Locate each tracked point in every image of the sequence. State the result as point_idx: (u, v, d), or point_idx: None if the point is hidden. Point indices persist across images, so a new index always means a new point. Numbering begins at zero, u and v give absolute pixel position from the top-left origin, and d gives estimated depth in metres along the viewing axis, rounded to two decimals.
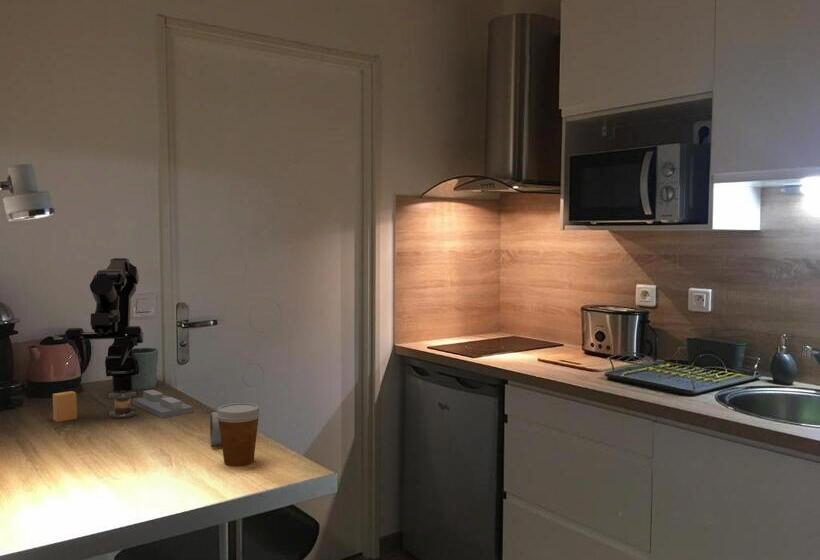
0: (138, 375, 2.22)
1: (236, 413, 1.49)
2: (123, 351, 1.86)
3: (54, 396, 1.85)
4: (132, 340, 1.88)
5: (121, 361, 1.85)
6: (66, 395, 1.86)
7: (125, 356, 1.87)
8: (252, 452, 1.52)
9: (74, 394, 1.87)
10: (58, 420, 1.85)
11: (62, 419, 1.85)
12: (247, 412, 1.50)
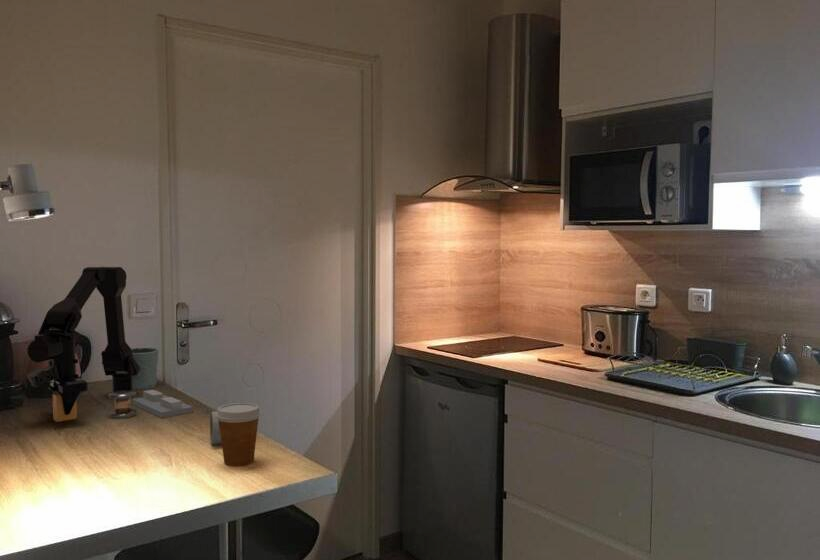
0: (138, 375, 2.22)
1: (236, 413, 1.49)
2: (63, 402, 1.85)
3: (54, 396, 1.85)
4: None
5: (64, 412, 1.85)
6: None
7: (68, 406, 1.85)
8: (252, 452, 1.52)
9: None
10: (58, 420, 1.85)
11: (62, 419, 1.85)
12: (247, 412, 1.50)
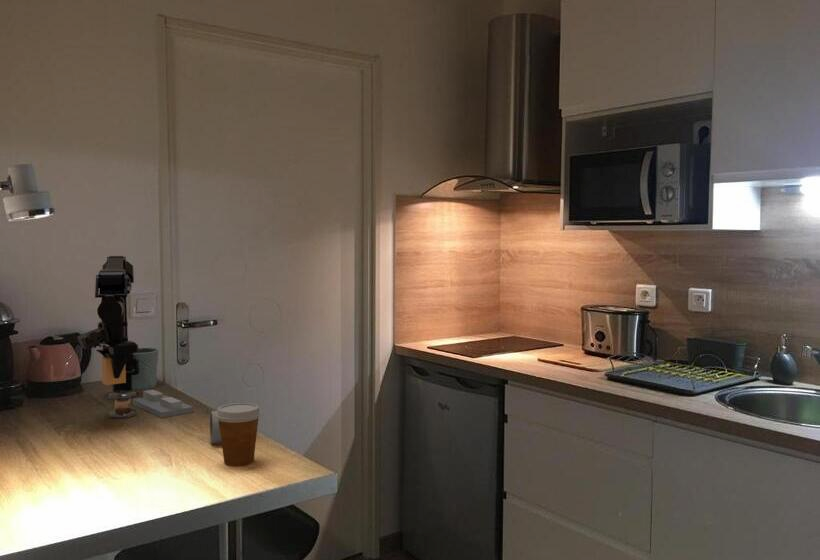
0: (138, 375, 2.22)
1: (236, 413, 1.49)
2: (112, 365, 1.82)
3: (103, 359, 1.83)
4: (114, 355, 1.80)
5: (114, 375, 1.83)
6: None
7: (118, 369, 1.83)
8: (252, 452, 1.52)
9: None
10: (107, 383, 1.82)
11: (111, 382, 1.83)
12: (247, 412, 1.50)
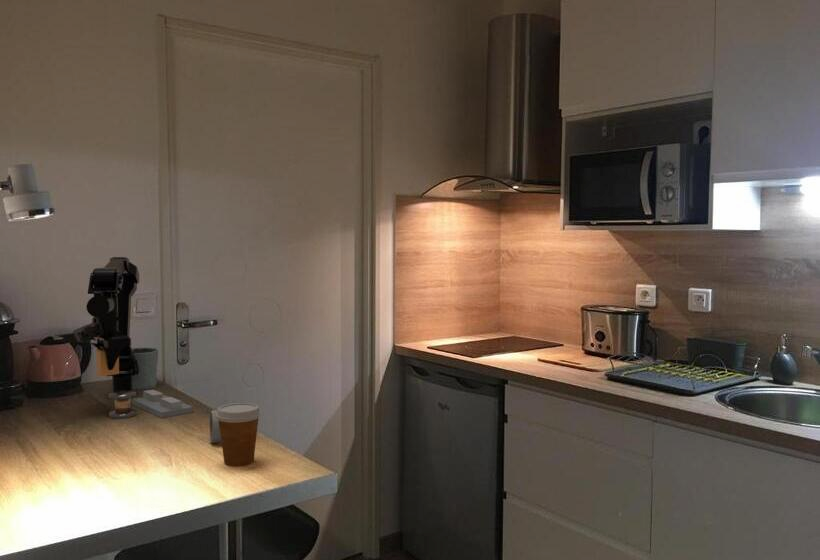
0: (138, 375, 2.22)
1: (236, 413, 1.49)
2: (107, 358, 1.94)
3: (98, 352, 1.94)
4: (108, 348, 1.92)
5: (108, 367, 1.95)
6: None
7: (111, 361, 1.94)
8: (252, 452, 1.52)
9: None
10: (102, 374, 1.94)
11: (105, 374, 1.94)
12: (247, 412, 1.50)
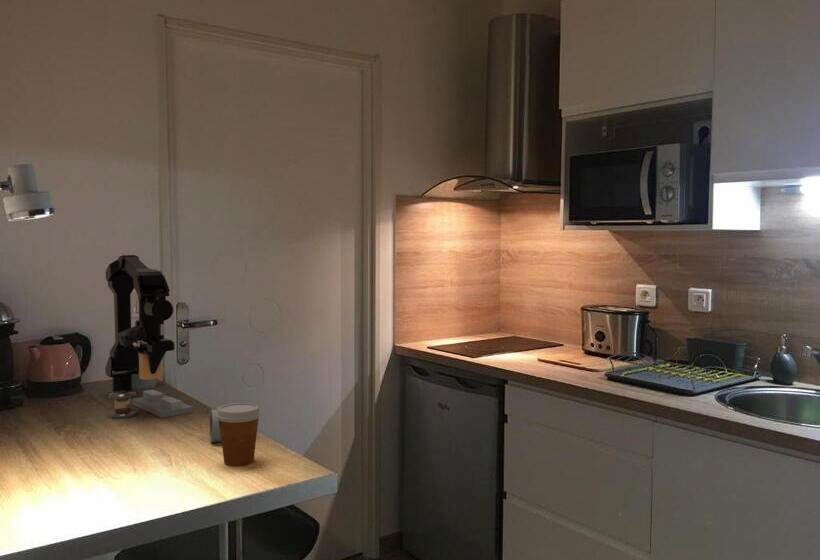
0: (138, 375, 2.22)
1: (236, 413, 1.49)
2: (149, 362, 1.91)
3: (141, 355, 1.92)
4: None
5: (151, 371, 1.92)
6: None
7: (154, 365, 1.92)
8: (252, 452, 1.52)
9: None
10: (144, 378, 1.91)
11: (148, 377, 1.92)
12: (247, 412, 1.50)
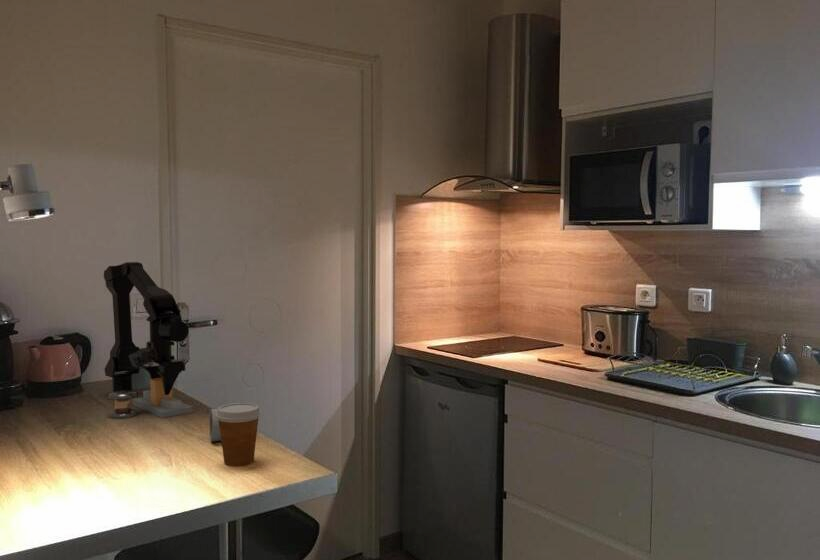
0: (138, 375, 2.22)
1: (236, 413, 1.49)
2: (163, 383, 1.95)
3: (152, 381, 1.97)
4: None
5: (164, 392, 1.96)
6: None
7: (168, 386, 1.96)
8: (252, 452, 1.52)
9: None
10: (156, 404, 1.97)
11: None
12: (247, 412, 1.50)
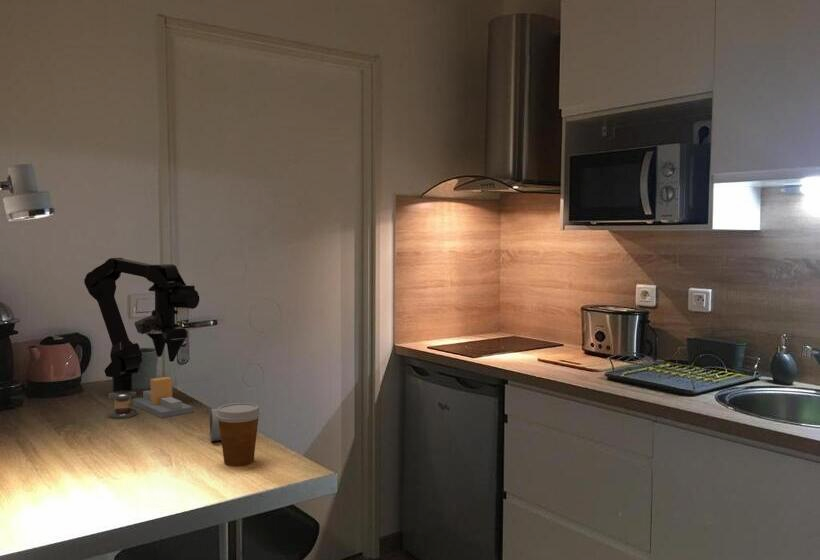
0: (138, 375, 2.22)
1: (236, 413, 1.49)
2: (168, 350, 2.04)
3: (152, 381, 1.97)
4: None
5: (169, 359, 2.05)
6: (163, 380, 1.98)
7: (173, 353, 2.04)
8: (252, 452, 1.52)
9: (170, 379, 1.99)
10: (156, 404, 1.97)
11: None
12: (247, 412, 1.50)
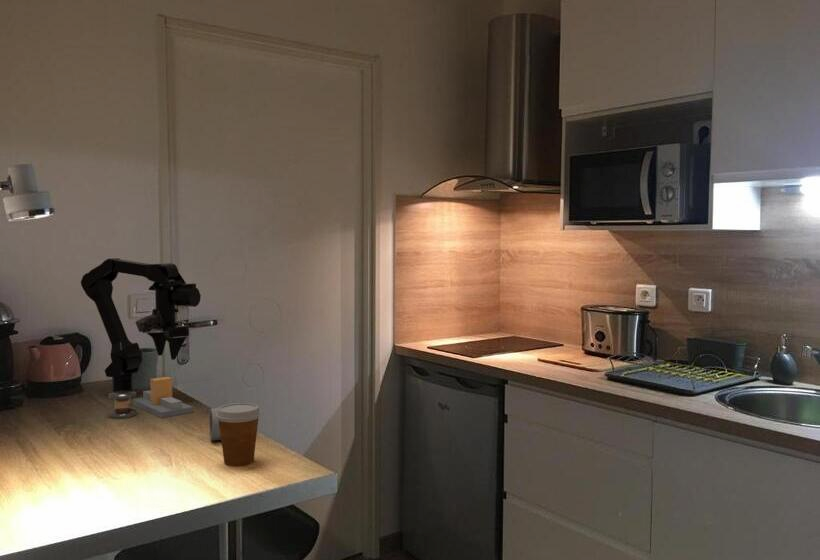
0: (138, 375, 2.22)
1: (236, 413, 1.49)
2: (170, 348, 2.05)
3: (152, 381, 1.97)
4: None
5: (171, 357, 2.06)
6: (163, 380, 1.98)
7: (174, 351, 2.06)
8: (252, 452, 1.52)
9: (170, 379, 1.99)
10: (156, 404, 1.97)
11: None
12: (247, 412, 1.50)
